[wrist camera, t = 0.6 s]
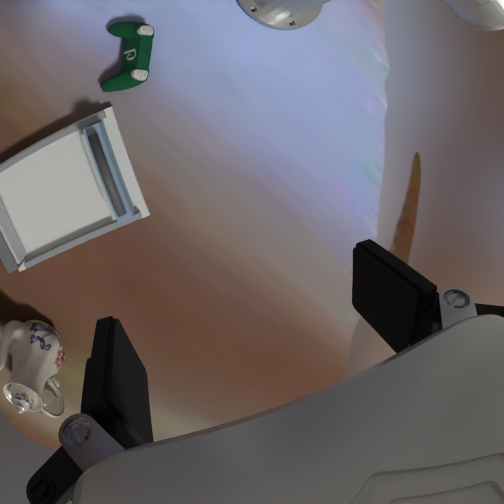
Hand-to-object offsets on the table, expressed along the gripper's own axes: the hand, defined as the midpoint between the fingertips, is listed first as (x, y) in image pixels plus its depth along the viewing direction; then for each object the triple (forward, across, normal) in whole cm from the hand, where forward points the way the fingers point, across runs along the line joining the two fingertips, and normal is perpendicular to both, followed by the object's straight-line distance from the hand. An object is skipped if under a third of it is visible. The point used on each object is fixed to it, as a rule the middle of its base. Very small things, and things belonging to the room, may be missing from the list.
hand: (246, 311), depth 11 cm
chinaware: (+32, +34, +20) cm, 51 cm away
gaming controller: (+32, +4, -16) cm, 36 cm away
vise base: (+31, +17, -2) cm, 36 cm away
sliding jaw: (+30, +9, -2) cm, 31 cm away
